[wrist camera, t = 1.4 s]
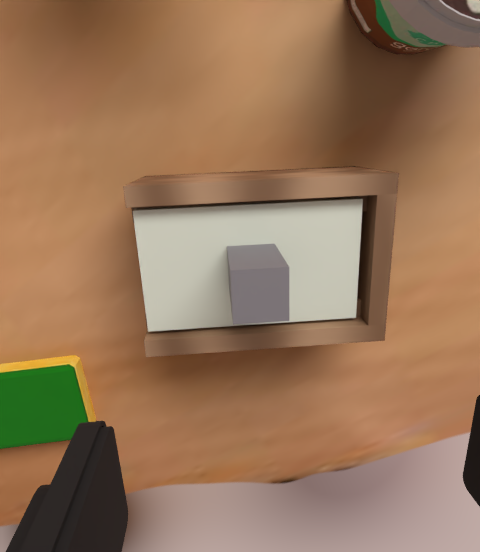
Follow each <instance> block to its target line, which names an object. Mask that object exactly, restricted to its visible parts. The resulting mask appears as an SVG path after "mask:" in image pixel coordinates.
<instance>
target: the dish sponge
mask: <svg viewBox="0 0 480 552" xmlns="http://www.w3.org/2000/svg"><path fill="white" fill-rule="evenodd" d="M84 422H96V417H95V413H94V409H93V405H92V402H91V398H90V394H89V390H88V386H87V382H86V379H85V375H84V371H83V367H82V363H81V360H80V358H79V357H77V356H76V355H73V356H65V357H56V358H48V359H40V360H31V361H23V362H15V363H6V364H0V449H2V448H10V447H18V446H26V445H33V444H41V443H49V442H57V441H65V440H71V439H72V437H73V434H74V432H75V430H76V428H77V426H78V424H80V423H84Z"/></svg>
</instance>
